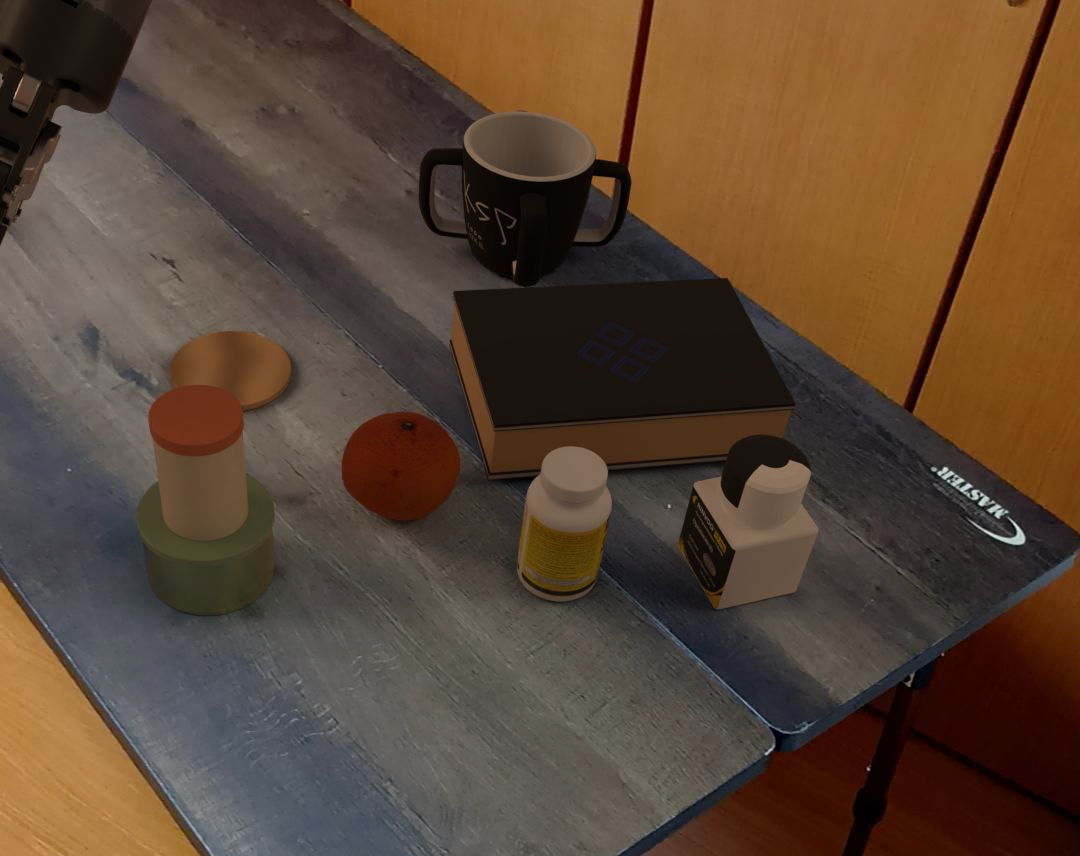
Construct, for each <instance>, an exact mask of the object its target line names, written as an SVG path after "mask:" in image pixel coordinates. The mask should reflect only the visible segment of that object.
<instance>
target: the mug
mask: <svg viewBox="0 0 1080 856" xmlns="http://www.w3.org/2000/svg"><path fill="white" fill-rule="evenodd" d="M419 165H420V166H419V177H418V204H419V210H420V214H421V217H422V219H423V221H424V223H425V225H426V226H427V228H428V229H429V230H430V232H432V233H433V234H435V235H438V236H440V237H446V238H455V239H462V240H463V239H464V240H467V241H468V244H469V245H468V246H469V248H470V251H471V253H472V255H473V257H474V258H475V260H476V261H477V262H478V263H479V264H480V265H481V266H482V267H484V268H486V269H487V270H490V271H491V272H492V273H495V274H498V275H501V276H505V277H509V278H512V282H513V283H514V284H515V285H516V286H519V287H521V288H525V287H535V286H536V285H537V284H538V283H539V280H540V277H543V276H547V275H549V274H551V273H553V272H554V271H556V270H557V269H559V267H561V266H562V264H563V263H564V262H565V260H566V258H567V256H568V255H569V253H570V251H571V248H572V247H577V248H578V247H580V248H598V247H603V246H605V245H607V244H609V243H610V242H611V241H612V240H613V239H614V238H615V237H616V236H617V234H618V233H619V231H621V228H622V226H623V224H624V221H625V219H626V216H627V210H628V207H629V201H630V195H631V190H632V189H631V188H632V183H633V182H632V176H631V173H630V170H629V169H628V167H627V166H626V165H625V164H624V163H622V162H619V161H613V160H606V159H601V158H600V159H599V158H597V149H596V147H595V144H594V141H593V140H592V139H591V138H590V136H589V135H588V134H587V133H586V132H585V131H583V130H582V129H581V128H579V127H578V126H576V125H574V124H573V123H571V122H568V121H566V120H564V119H562V118H559V117H556V116H554V115H550V114H546V113H540V112H534V111H528V110H515V111H514V110H513V111H501V112H498V113H492V114H489V115H485V116H484V117H481V118H480V119H478V120H476V121H474V122H473V123H471V125H469V126H468V128H467V129H466V131H465V132H464V134H463V141H462V148H459V147H458V148H456V147H450V148H449V147H445V148H442V147H441V148H432V149H429V150H428V151H426V153H425V155H424V156H423V157H422V159H421V162H420V164H419ZM438 166H453V167H456V166H457V167H458V166H459V167H461V194H462V195H461V196H462V205H463V216H464V220H458V219H450V218H443V217H441V216H440V214H439V213H438V211H437V209H436V202H435V191H436V188H435V186H436V174H437V167H438ZM594 177H600V178H612V179H614V180H615V181H614V192H613V197H612V201H611V206H610V210H609V214H608V217H607V218H606V220H605V222H604V223H603V224H602V226H600V227H598V228H593V229H592V228H591V229H589V228H588V229H587V228H580V225H581V222H582V220H583V219H582V218H583V215H584V213H585V209H586V207H587V203H588V199H589V194H590V191H591V187H592V183H593V178H594Z"/></svg>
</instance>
